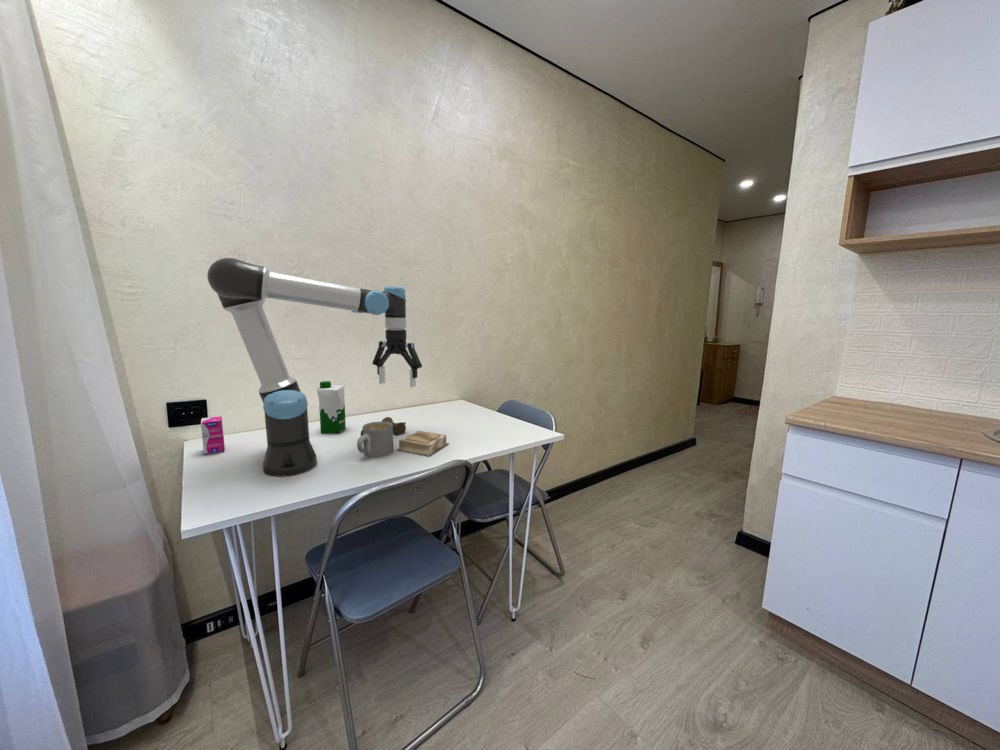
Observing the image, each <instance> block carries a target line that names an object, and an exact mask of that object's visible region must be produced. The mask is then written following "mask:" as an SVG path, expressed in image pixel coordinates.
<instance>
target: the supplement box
mask: <svg viewBox="0 0 1000 750" xmlns="http://www.w3.org/2000/svg"><path fill="white" fill-rule="evenodd" d="M200 431H201V438H202V440H201V441H202V447H203V448H202V449H203V455H204V456H205V455H212V454H217V453H218V454H219V453H224V452H225V450H226V449H225V447H226V445H225V437H224V436H225V435H224V426H223V417H222V416H213V417H211V416H210V417H202V418H201V419H200Z"/></svg>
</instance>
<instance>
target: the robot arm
mask: <svg viewBox="0 0 1000 750" xmlns="http://www.w3.org/2000/svg"><path fill="white" fill-rule="evenodd" d="M206 277H207V281H208V284H209V286H210V288H211V289H212V290H213V291H214V292H215V293H216V294H217V297H218V299H219V301H220V303H221V306H222V308H223V310H225V311H226V312H228V313H230V314H231V315H232V317H233V320H234V322H235V325H236V327H237V330H238V331H239V334H240V337H241V339H242V341H243V344H244V346H245V349H246V351H247V354H248V356H249V358H250V362H251V363H252V365H253V368H254V371H255V372H256V376H257V378H258V379H259V382H260V387H259V388H258V391H257V392H258V393H259V397H260V398H261V401H262V403H263V405H262V407H263V411H264V422H265V432H266V444H267V445H266V446H267V447H266V451H265V455H264V460H263V462H262V472H263V474H265V475H267V476H270V477H290V476H294V475H299V474H303V473H305V472H308V471H309V470H312V469H314V468H315V467H316V466H317V464H318V459H317V458H318V457H317V454H316V453H315V450H314V448H313V445H312V443H311V440H310V429H309V417H308V416H309V412H308V405H309V403H308V400H307V396H306V395H305V393H303V392H302V391H301V388H300V387H299V384H298V381H297V379H296V378H294V377H291V376H290V374H289V372H288V369H287V366H286V364H285V361H284V359H283V356H282V354H281V350H280V349H279V346H278V344H277V341H276V338H275V335H274V334H273V330H272V328H271V326H270V322H269V320H268V318H267V315H266V313H265V310H264V308H263V306H264V303H265V301H266V299H274V300H279V301H281V300H282V301H286V302H294V303H299V304H305V305H313V306H319V307H320V306H321V307H326V308H332V309H339V310H346V311H350V312H351V313H354V314H355V313H356V314H358V313H359V314H370V315H373V316H379V315H382V314H384V328H385V340H380V341H378V348H377V351H376V353H375V356H374V358H373V360H372V362H371V363H372V365H373V366H376V368H377V369H376V371H377V375H378V381H379V384H380V385H381V384H382V385H383V384H385V383H386V366H385V365H384V364H385V363H386V361H387V360H388V359H389V358H390V356H391V355H395V354H396V355H400V356H402V357H403V359H404V360H405V362H406V363H407V365H408V366H409V367H410V370H409V387H410V388H414V387H416V386H417V384H416V382H417V381H416V380H417V379H416V378H418V369H420V368H422V367H423V365H422V362H421V360H420V358H419V356H418V353H417V351H416V349H415V343H414V342H407V329H406V328H407V312H406V311H407V310H406V309H407V308H406V307H407V306H406V305H407V303H406V302H407V298H406V289H405V288H404V287H403V286H385V287H383V288H384V289H383V291H380V290H371V289H366V288H361V287H356V286H351V285H346V284H345V285H344V284H340V283H334V282H327V281H323V280H318V279H314V278H313V279H311V278H307V277H301V276H296V275H290V274H285V273H280V272H275V271H271V270H269V269H268V268H267V266H262V265H256V264H253V263H249V262H246V261H243V260H241V259H239V258H238V259H237V258H234V257H225V258H224V257H223V258H219V259H217V260H215V261H214V262H213V263H212V264H210V266H209V268H208V271H207V274H206ZM386 348H387V349H386ZM385 349H386V350H385ZM311 468H312V469H311ZM302 472H303V473H302Z"/></svg>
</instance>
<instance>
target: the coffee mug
mask: <svg viewBox="0 0 1000 750" xmlns="http://www.w3.org/2000/svg"><path fill="white" fill-rule="evenodd" d="M361 430H363V435H362V436H361V435H360V437H358V439H357V443H356V448H357V450H358V452H359V453H361V454H363V455H364V456H366V457H368V458H383V457H386V456H389V455H391V454H393V453H394V432H393V425H392V423H389V422H381V421H372V422H369V423H368V422H367V423H364V424H363V425H362V428H361Z"/></svg>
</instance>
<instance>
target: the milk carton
mask: <svg viewBox="0 0 1000 750" xmlns="http://www.w3.org/2000/svg"><path fill="white" fill-rule="evenodd" d="M316 393H317V397H318V407H319V423H320V424H319V425H320V434H328V433H336V434H337V435H339V434H340V433H341V432H343V431H344V430H345V429H346V428H347V427H346V405H345V385H337V384H336V385H333V384H332V382H331V381H329V380H326V381H325V380H323V381H320V382H319V387H318V388H316ZM342 430H343V431H342ZM336 434H335V435H336Z"/></svg>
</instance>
